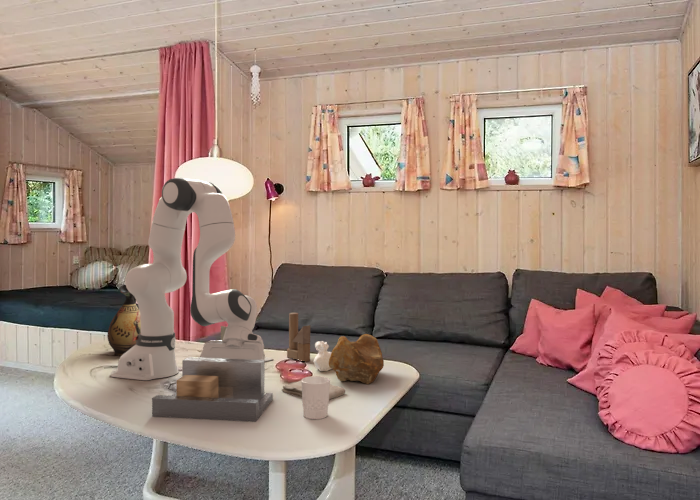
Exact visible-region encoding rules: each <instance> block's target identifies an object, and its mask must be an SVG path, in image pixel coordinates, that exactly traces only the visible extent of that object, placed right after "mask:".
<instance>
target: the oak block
mask: <svg viewBox="0 0 700 500" xmlns="http://www.w3.org/2000/svg"><path fill="white" fill-rule="evenodd" d="M176 392H177V396H188V397H211V398H218V376H202V375H184V376H183V377H182V376H181V377H179V378H178V379H177V380H176Z"/></svg>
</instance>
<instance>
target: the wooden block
mask: <svg viewBox="0 0 700 500" xmlns="http://www.w3.org/2000/svg"><path fill="white" fill-rule="evenodd" d="M288 315H289V316H288V317H289V319H288V325H289V326H288V348H287V349H286V357H287V358H289V359H291V358H293V359H292V360H294V359H299V360H302V361H305V362H304V363H307V362H310V361H311V325H303V326H302V327H301V329H300V330H299V313H298V312H289V313H288Z"/></svg>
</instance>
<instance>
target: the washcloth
mask: <svg viewBox="0 0 700 500" xmlns="http://www.w3.org/2000/svg"><path fill="white" fill-rule="evenodd" d="M281 391H282V392H284V393H285V394H287V395H290V396H295V397H298V398H301V399H302V379H300V380H299V381H295V382H289V383H286V384H285V385H282V388H281ZM345 394H346V389H345V388H343V387H342V386H337V385H333V384H331V383H330V389H329V401H331V400H332V399H336V398H338V397H341V396H343V395H345Z"/></svg>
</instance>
